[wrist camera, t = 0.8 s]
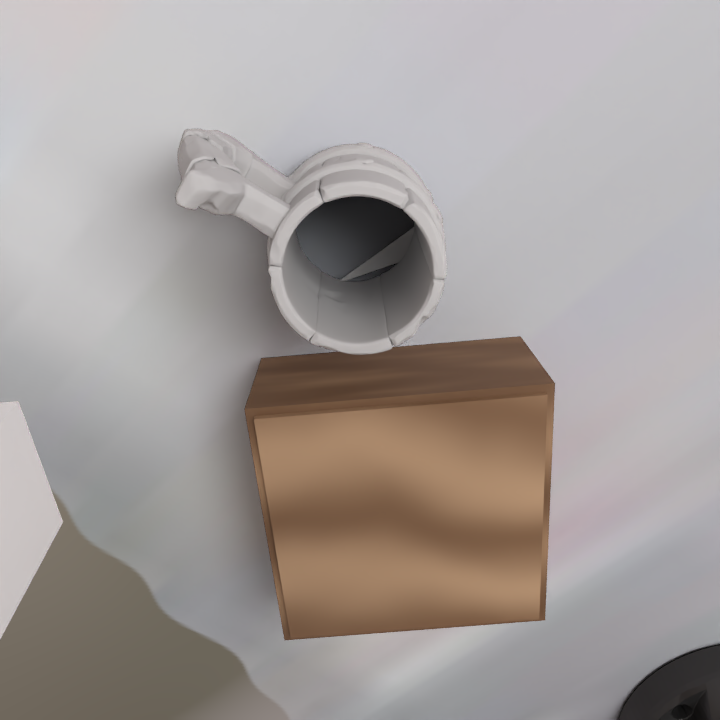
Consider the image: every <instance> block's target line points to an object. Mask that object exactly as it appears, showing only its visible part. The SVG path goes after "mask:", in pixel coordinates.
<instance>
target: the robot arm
mask: <svg viewBox="0 0 720 720" xmlns="http://www.w3.org/2000/svg"><path fill="white" fill-rule="evenodd" d="M62 523H63V520H62V518H61V515H60V512H59V510H58V507H57V504H56V502H55V499H54V496H53V493H52V491H51V488H50V485H49V483H48V480H47V477H46V474H45V472H44V469H43V466H42V464H41V461H40V458H39V456H38V453H37V450H36V447H35V445H34V442H33V439H32V437H31V434H30V431H29V428H28V426H27V423H26V420H25V418H24V415H23V412H22V410H21V407H20V404H19V401H14V402H0V639H1V637H2V635H3V633H4V631H5V629H6V627H7V625H8V624H9V622H10V620H11V618H12V616H13V614H14V613H15V611H16V609H17V607H18V605H19V603H20V601H21V599H22V597H23V596H24V594H25V592H26V590H27V588H28V586H29V585H30V583H31V581H32V579H33V577H34V575H35V573H36V571H37V570H38V568H39V566H40V564H41V562H42V560H43V558H44V557H45V555H46V553H47V551H48V549H49V547H50V545H51V544H52V542H53V540H54V538H55V536H56V534H57V532H58V530H59V528H60V527H61V525H62ZM619 720H720V645H718V646H714V647H710V648H706V649H702V650H699V651H696V652H693V653H691V654H688V655H686V656H683V657H681V658H679V659H677V660H675V661H673V662H671V663H669V664H667V665H666V666H664V667H662V668H661V669H659V670H658V671H656V672H655V673H654V674H652V675H651V676H650V677H649V678H647V679H646V680H645V681H644V682H643V683H642V684H641V685H640V686H639V687H638V688H637V689H636V690H635V691H634V692H633V694H632V695H631V696H630V698H629V699H628V701H627V702H626V704H625V706H624V707H623V710H622V712H621V714H620V717H619Z"/></svg>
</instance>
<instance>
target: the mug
mask: <svg viewBox="0 0 720 720" xmlns="http://www.w3.org/2000/svg"><path fill="white" fill-rule="evenodd" d="M178 167H179V171H180V175H181V179H182V181H181V184H180V186H179V188H178V190H177V192H176V195H175V199H176V202H177V204H178V205H180V206H182V207H184V208H188V209H192V210H196V209H197V208H198V207H199V208H201V209H204V210H207V211H208V212H210V213H212V214H215V215H227V214H229V215H234V216H237V217H239V218H241V219H242V220H244V221H245V222H247V223H248V224H250V225H252V226H253V227H255V228H256V229H258V230H259V231H260V232H262V233H264V234H265V235H267V236H268V241H267V258H268V266H269V269H268V272H269V275H270V276H271V291H272V294H273V297H274V300H275V302H276V304H277V307H278V309H279V311H280V312H281V314H282V316H283V317H284V319H285V320H286V321H287V323H288V324H289V325H290V326H291V327H292V328H293V329H294V330H295V331H296V332H297V333H298V334H299V335H300V336H302V337H303V338H304V339H306V340H309V339H310V342H311V343H312V344H314V345H316V346H320V347H324V348H326V349H330V350H334V351H339V352H343V353H347V354H354V355H365V354H375V353H380V352H384V351H387V350H390V349H392V344H393V345H394V346H395V347H397V346H398V345H400V344H402V343H403V342H405V341H406V340H408V339H410V338H411V337H413V336H414V335H415V334H416V332H417V330H418V328H419V327H420V325H421V324H422V323H423V322H424V321H425V320H426V319H428V318H429V317H430V316H431V315H432V314H433V312H434V311H435V309H436V307H437V305H438V303H439V301H440V299H441V297H442V294H443V291H444V284H445V280H444V279H445V278H446V276H447V259H446V243H445V235H444V228H443V224H442V223H443V218H442V215H441V213H440V211H439V209H438V207H437V206H436V205H435V204H434V203H433V197H432V195H431V192H430V191H429V190H428V189H427V188H426V186H425V184H424V182H423V181H422V179H421V178H420V176H419V175H418V174H417V173H416V172H415V170H414V169H413V168H412V167H411V166H410V165H408V164H407V163H406V162H405V161H404V160H402V159H401V158H399V157H398V156H396V155H395V154H393V153H391V152H390V151H388V150H385V149H382V148H379V147H375V146H372V145H371V144H368V143H357V144H344V145H339V146H334V147H331V148H328V149H326V150H323V151H321V152H319V153H317V154H315V155H313V156H312V157H310V158H309V159H307V160H306V161H305V162H304V163H302V164H301V165H300V166H299V167H298V168H297V169H296V170H295V171H294V173H293V174H291V175H290V176H288V177H286V176H285V175H283V174H282V173H280V172H279V171H277V170H276V169H275V168H273V167H272V166H270V165H269V164H268V163H266V162H265V161H263V160H262V159H261V158H260V157H258V156H257V155H256V154H255V153H254V152H252V151H251V150H249V149H248V148H247V147H245V146H244V145H243V144H242V143H240V142H239V141H238V140H236V139H235V138H233V137H232V136H230V135H228V134H226V133H223V132H220V131H218V130H207V131H206V130H202V129H187V130H185V131H184V133H183V135H182V139H181V142H180V145H179V148H178ZM351 196H364V197H371V198H375V199H379V200H382V201H386V202H388V203H390V204H393V205H394V206H396V207H398V208H400V209H403V210H404V212H405V213H406V214H407V215H408V216H409V217H410V218H411V219H412V220H413V221H414V227H413V228H412V229H410V230H409V231H408V232H406V233H405V234H403V235H402V236H401V237H399V238H398V239H396V240H395V241H394V242H392V243H391V244H389V245H388V246H387V247H385V248H384V249H383V250H381V251H380V252H378V253H377V254H376V255H374V256H373V257H371V258H370V259H369V260H367V261H366V262H364V263H363V264H362V265H360V266H359V267H357V268H356V269H355V270H353V271H352V272H350V273H349V274H348V275H346V276H345V277H344V278H342V279H341V280H340V279H336V278H334V277H331V276H330V275H328V274H326V273H325V272H321V270H320V269H319V268H317V267H316V266H315V265H313V264H312V263H311V262H310V261H309V259H308V258H307V257H306V255H305V254H304V252H303V251H302V249H301V246H300V244H299V241H298V238H297V234H296V228H297V226H298V225H299V224H300V222H301V221H302V220H303V219H304V218H305V217H306V216H307V215H308V214H309V213H311V212H312V211H313V210H315V209H316V208H318V207H319V206H320V205H322V204H323V203H324V202H329V201H332V200H335V199H339V198H344V197H351ZM396 263H397V264H396ZM393 264H396V265H395V266H394V267H393V268H392V269H390V270H389V271H387V272H385V273H383V274H381V275H380V277H379V276H378V277H374V278H372V279H369V280H365V281H346V280H349V279H352V278H355V277H358V276H361V275H364V274H367V273H370V272H372V271H375V270H378V269H381V268H384V267H387V266H390V265H393Z"/></svg>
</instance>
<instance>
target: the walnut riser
mask: <svg viewBox="0 0 720 720" xmlns="http://www.w3.org/2000/svg"><path fill="white" fill-rule="evenodd" d="M554 392H555V383H554V382H553V380H552V379H551V377H550V376H549V375H548V373H547V372H546V371H545V369H544V368H543V367H542V365H541V364H540V362H539V361H538V360H537V358H536V357H535V356H534V354H533V353H532V352H531V350H530V349H529V347H528V346H527V345H526V343H525V342H524V341H523V339H522V338H521V337H509V338H497V339H485V340H474V341H462V342H450V343H438V344H426V345H414V346H402V347H392V349H390V350H387V351H384V352H380V353H375V354H365V355H354V354H347V353H343V352H331V353H319V354H307V355H295V356H283V357H271V358H261V361H260V364H259V367H258V370H257V373H256V376H255V379H254V382H253V385H252V388H251V391H250V394H249V397H248V400H247V403H246V406H245V415H246V421H247V426H248V432H249V438H250V444H251V449H252V455H253V461H254V467H255V472H256V478H257V484H258V490H259V495H260V501H261V507H262V513H263V518H264V524H265V530H266V536H267V542H268V547H269V553H270V559H271V565H272V570H273V576H274V582H275V588H276V593H277V599H278V605H279V611H280V616H281V622H282V628H283V634H284V639H285V640H294V639H307V638H320V637H333V636H346V635H359V634H372V633H385V632H398V631H411V630H424V629H437V628H450V627H463V626H476V625H489V624H502V623H515V622H528V621H541V620H545V606H546V583H547V559H548V535H549V511H550V487H551V463H552V439H553V416H554Z"/></svg>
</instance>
